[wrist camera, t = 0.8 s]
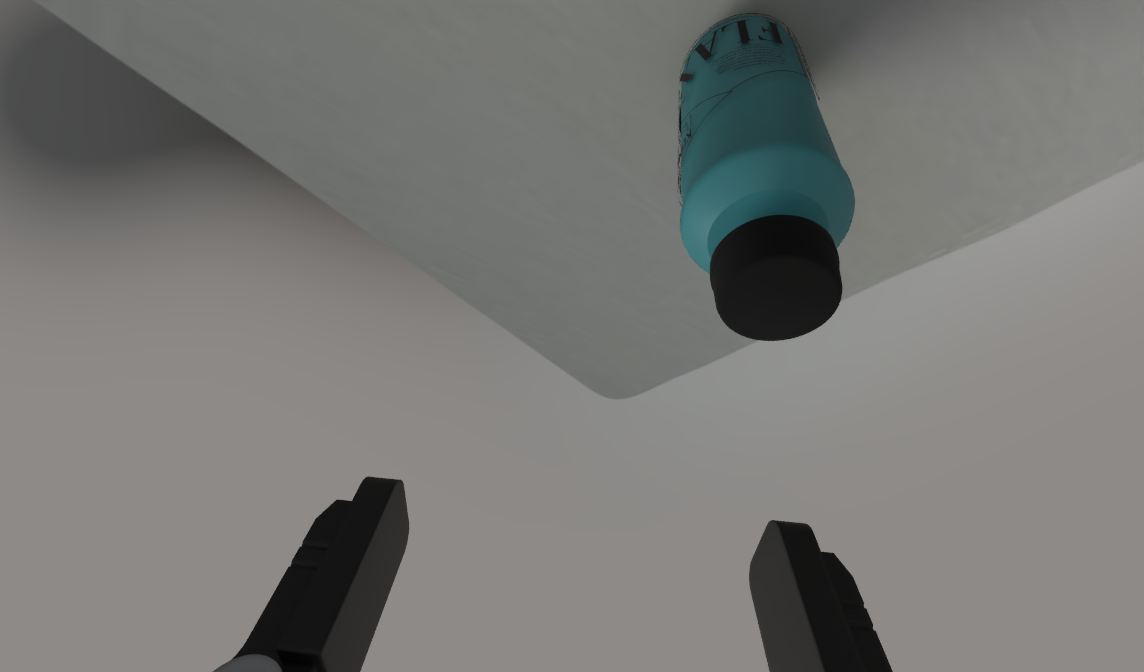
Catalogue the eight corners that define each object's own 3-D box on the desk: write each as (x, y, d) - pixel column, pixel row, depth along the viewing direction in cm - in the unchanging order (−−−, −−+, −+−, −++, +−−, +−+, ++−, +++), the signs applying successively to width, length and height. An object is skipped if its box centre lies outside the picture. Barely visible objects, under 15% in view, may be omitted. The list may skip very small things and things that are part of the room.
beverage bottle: (789, -21, 27) (897, 188, 13) (802, 102, 31) (894, 356, 18) (664, 28, 29) (649, 246, 16) (692, 136, 34) (699, 382, 20)
